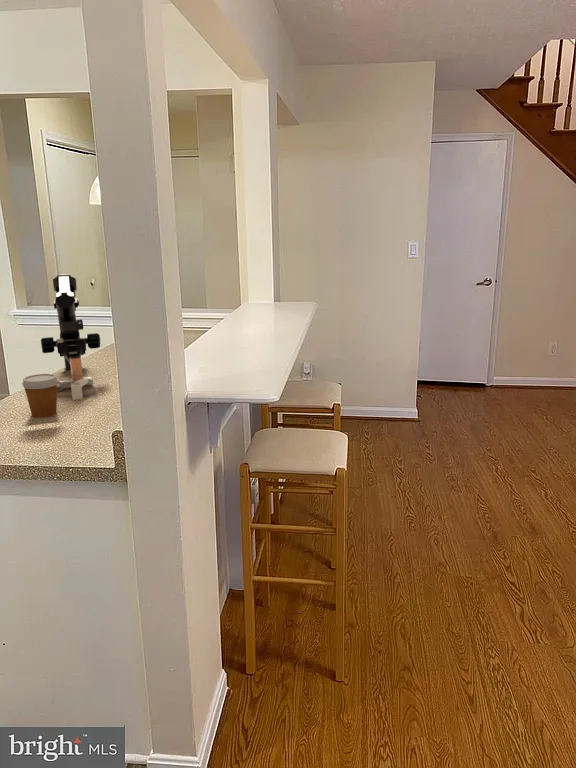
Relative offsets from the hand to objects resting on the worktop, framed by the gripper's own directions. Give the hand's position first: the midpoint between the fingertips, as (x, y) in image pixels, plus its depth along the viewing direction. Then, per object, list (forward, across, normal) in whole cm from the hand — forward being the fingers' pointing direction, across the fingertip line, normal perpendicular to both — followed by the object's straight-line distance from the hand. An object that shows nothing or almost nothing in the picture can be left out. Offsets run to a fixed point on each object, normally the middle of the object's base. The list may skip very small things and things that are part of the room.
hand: (74, 363), depth 192 cm
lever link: (+6, -2, +3) cm, 8 cm away
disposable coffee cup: (+26, -11, -14) cm, 31 cm away
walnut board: (+10, -2, +3) cm, 10 cm away
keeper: (+14, 0, -4) cm, 15 cm away
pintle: (+7, -7, +3) cm, 11 cm away
